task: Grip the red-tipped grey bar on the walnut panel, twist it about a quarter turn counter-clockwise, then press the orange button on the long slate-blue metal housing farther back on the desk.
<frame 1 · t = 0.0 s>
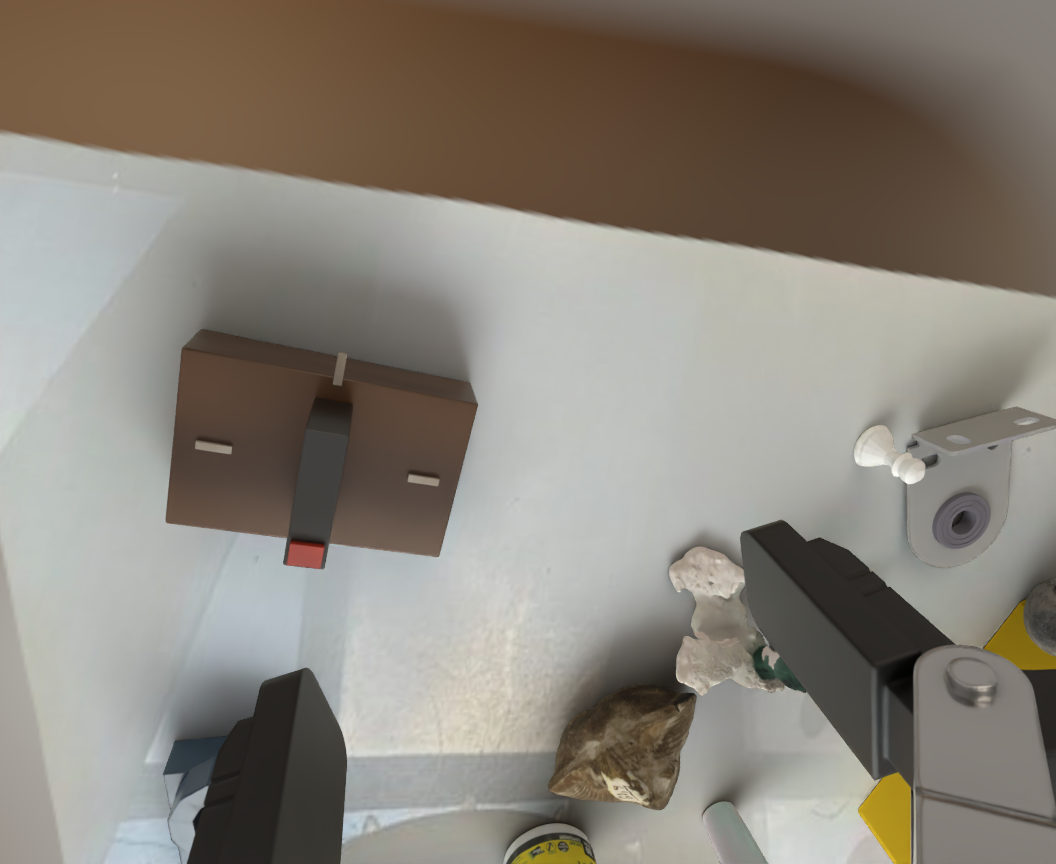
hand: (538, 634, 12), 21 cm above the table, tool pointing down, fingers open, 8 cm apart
red-tipped grey bar: (319, 483, 27), point 5 cm above the table, hinge at 0.0°
chess pawn: (867, 443, 38), on the table
bracket: (954, 477, 40), on the table
pill bottle: (545, 848, 47), on the table
panel: (328, 436, 32), on the table
button box: (256, 838, 41), on the table
alarm clock: (975, 721, 50), on the table, touching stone
rock: (758, 611, 42), on the table
fossilized seashell: (611, 716, 43), on the table
novelty light stick: (717, 810, 48), on the table
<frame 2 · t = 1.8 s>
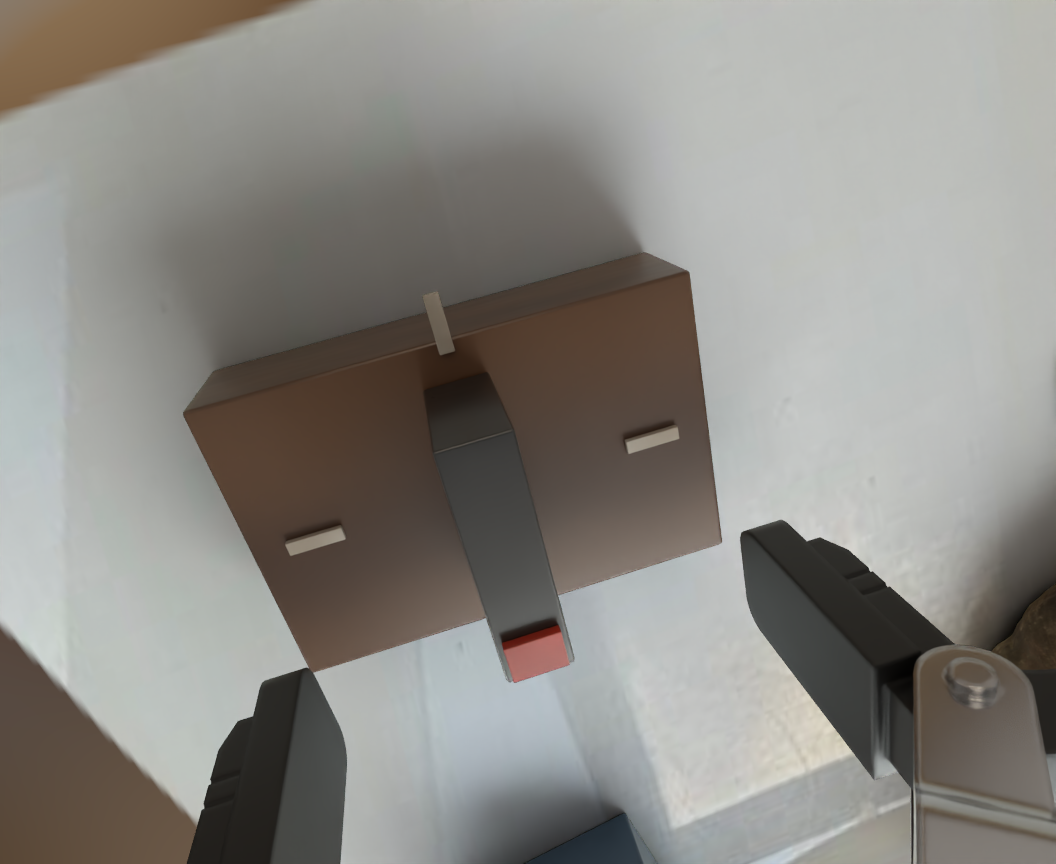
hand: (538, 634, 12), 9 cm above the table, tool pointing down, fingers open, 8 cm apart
red-tipped grey bar: (498, 526, 15), point 5 cm above the table, hinge at 0.0°
panel: (472, 439, 20), on the table
fossilized seashell: (1026, 633, 28), on the table
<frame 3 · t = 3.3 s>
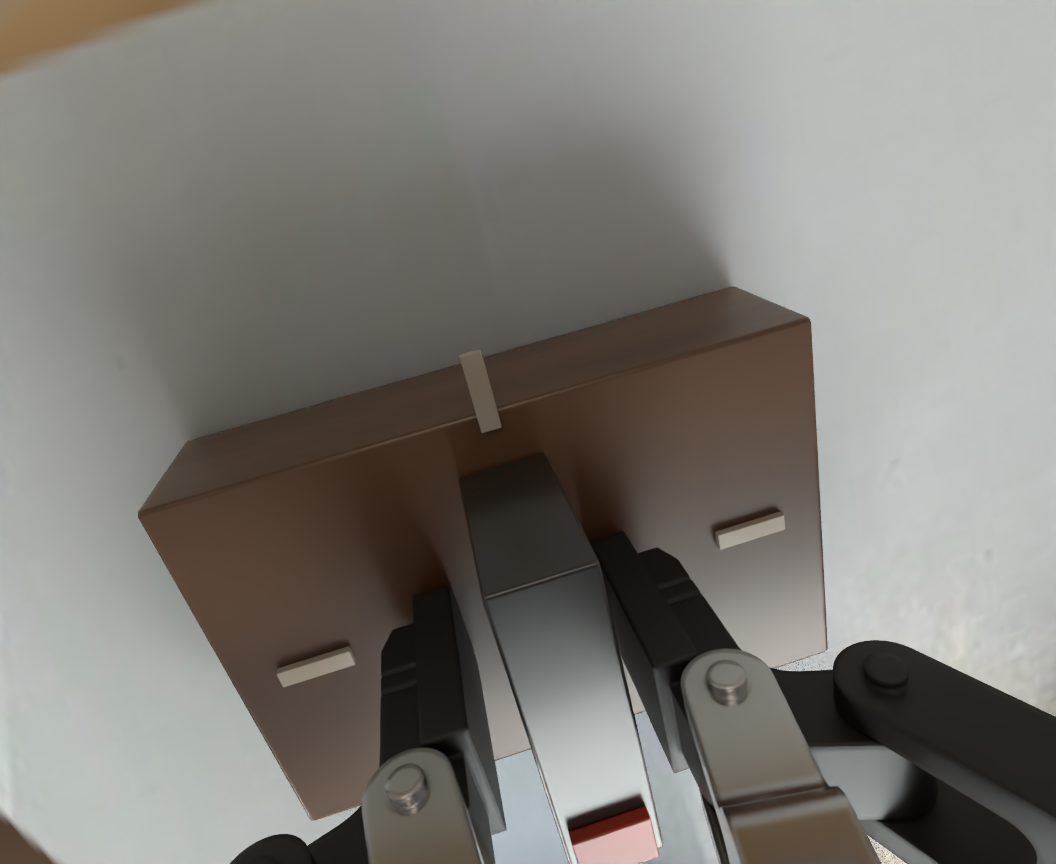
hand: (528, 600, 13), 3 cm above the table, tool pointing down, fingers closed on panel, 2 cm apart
red-tipped grey bar: (560, 663, 11), point 5 cm above the table, hinge at 0.0°
panel: (512, 517, 16), on the table
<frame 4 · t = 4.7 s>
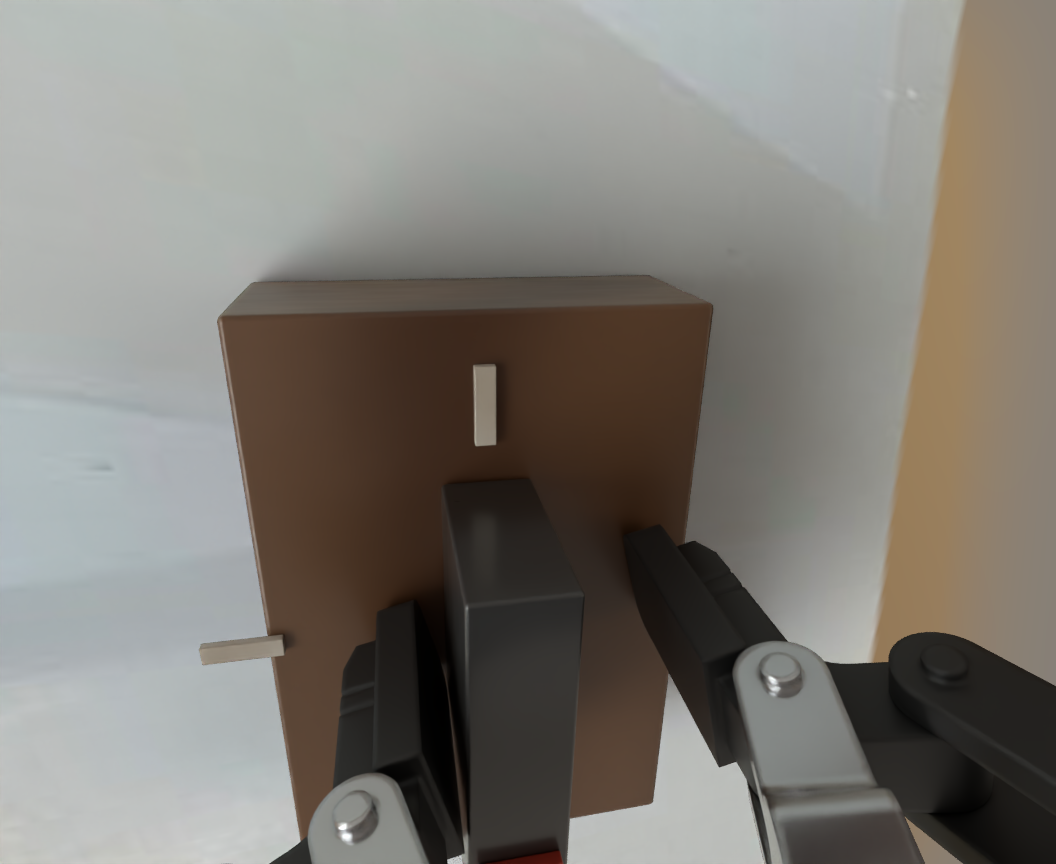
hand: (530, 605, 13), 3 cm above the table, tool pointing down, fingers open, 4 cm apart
red-tipped grey bar: (502, 690, 11), point 5 cm above the table, hinge at 89.6°
panel: (467, 537, 16), on the table
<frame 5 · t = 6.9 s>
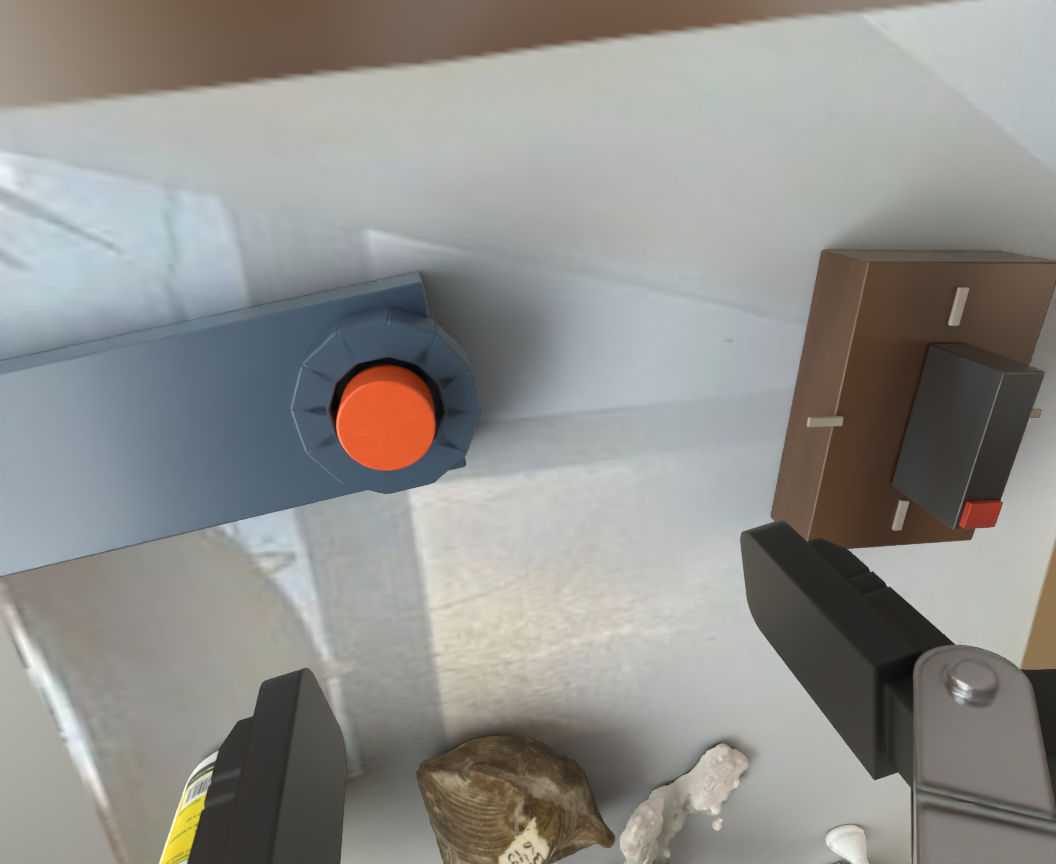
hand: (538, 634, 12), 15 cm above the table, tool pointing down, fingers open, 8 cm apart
red-tipped grey bar: (962, 435, 25), point 5 cm above the table, hinge at 89.6°
chess pawn: (841, 832, 42), on the table
pill bottle: (258, 780, 32), on the table
button: (387, 417, 21), point 4 cm above the table, slide at 0.1 cm
panel: (878, 391, 29), on the table
button box: (217, 412, 25), on the table
rock: (658, 835, 39), on the table
fossilized seashell: (505, 765, 35), on the table
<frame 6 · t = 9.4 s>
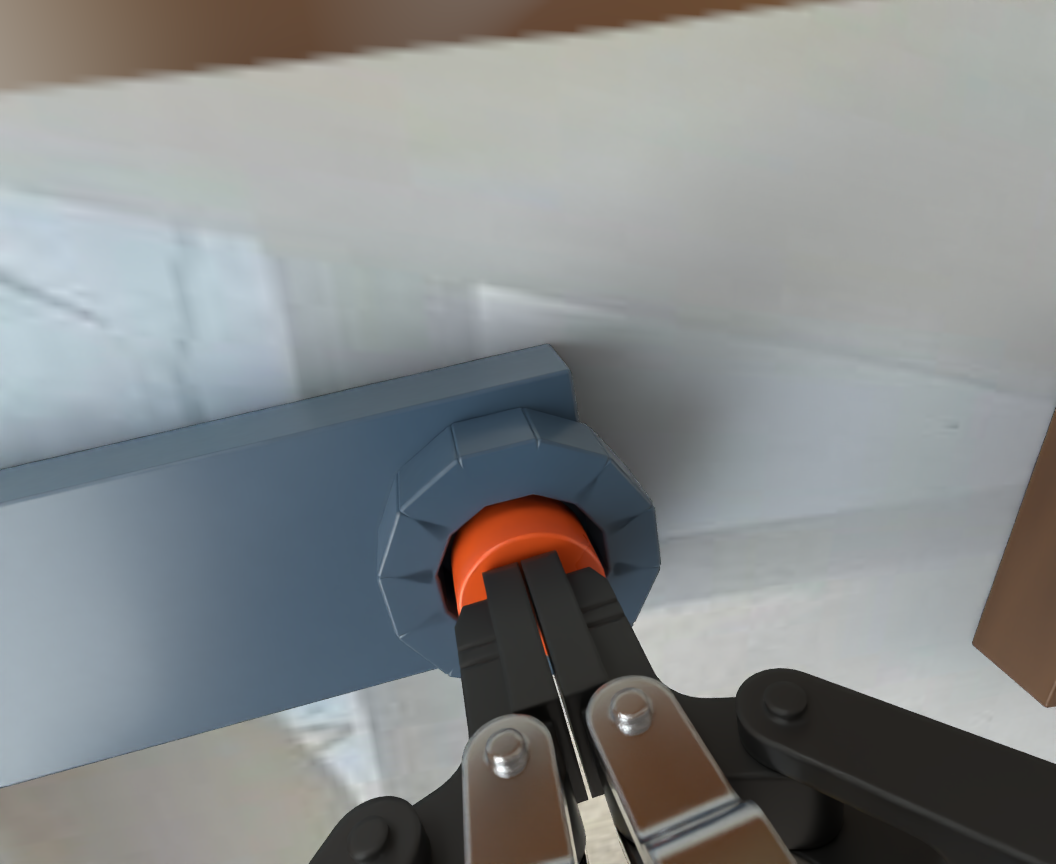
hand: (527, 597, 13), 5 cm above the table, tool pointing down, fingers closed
button: (526, 574, 14), point 4 cm above the table, slide at -0.3 cm, touching gripper
button box: (248, 547, 17), on the table
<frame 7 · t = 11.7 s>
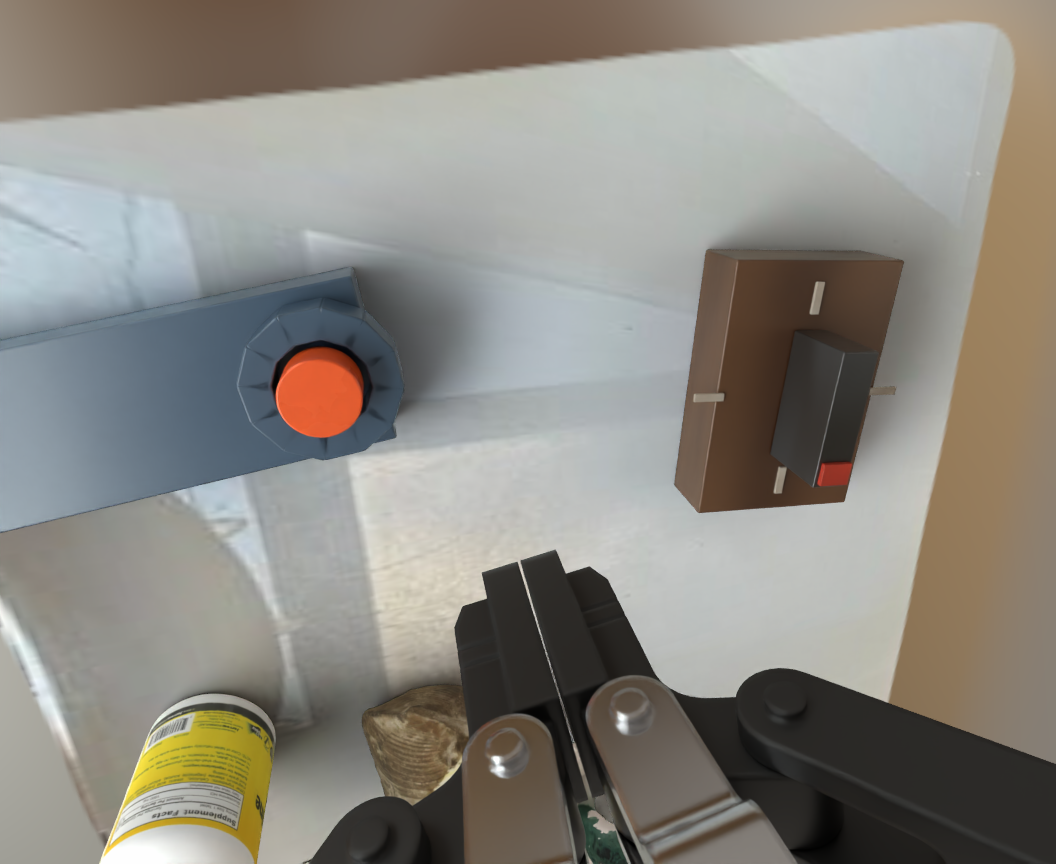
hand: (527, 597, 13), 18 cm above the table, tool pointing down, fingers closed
red-tipped grey bar: (821, 408, 29), point 5 cm above the table, hinge at 89.6°
pill bottle: (216, 731, 36), on the table
button: (321, 391, 25), point 4 cm above the table, slide at 0.1 cm
panel: (762, 373, 34), on the table
button box: (173, 391, 28), on the table
rock: (588, 780, 43), on the table
fossilized seashell: (445, 715, 38), on the table
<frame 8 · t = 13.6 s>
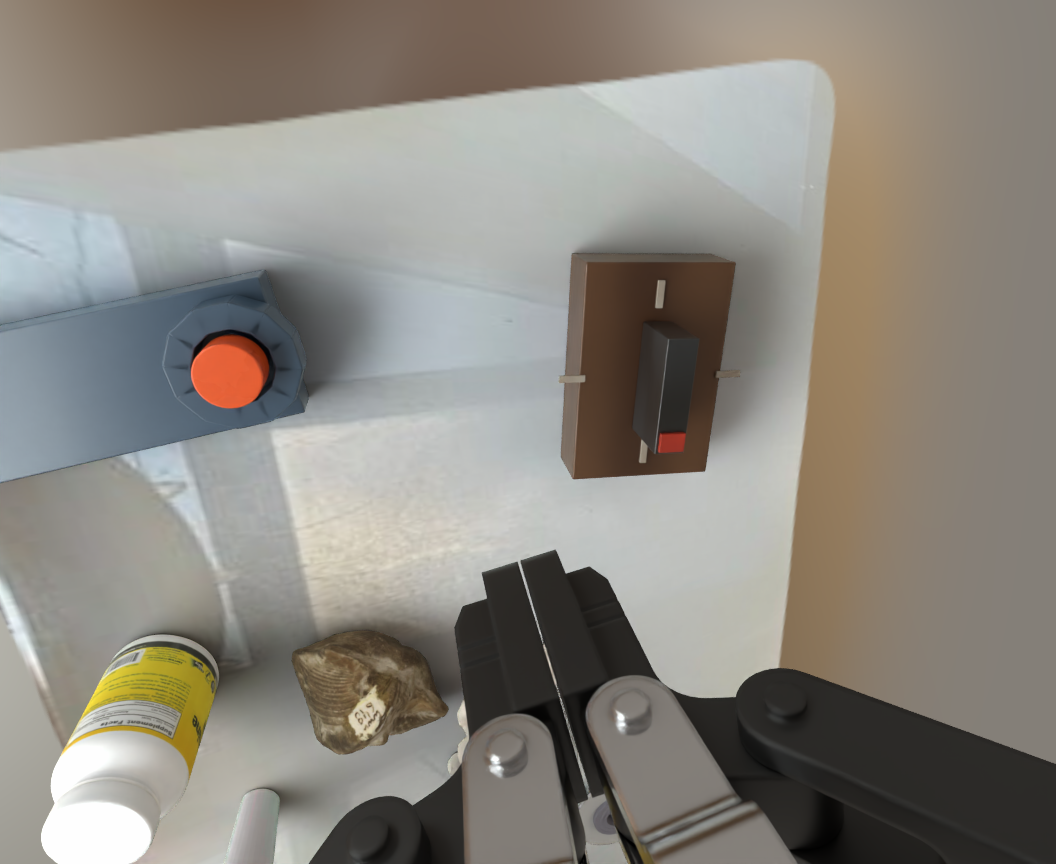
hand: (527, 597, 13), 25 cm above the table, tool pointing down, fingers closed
red-tipped grey bar: (664, 387, 34), point 5 cm above the table, hinge at 89.6°
bracket: (638, 791, 54), on the table
pill bottle: (168, 668, 41), on the table
button: (231, 371, 31), point 4 cm above the table, slide at 0.1 cm
panel: (632, 359, 39), on the table
button box: (119, 373, 34), on the table
rock: (504, 724, 48), on the table
fossilized seashell: (370, 660, 44), on the table
novelty light stick: (261, 798, 47), on the table
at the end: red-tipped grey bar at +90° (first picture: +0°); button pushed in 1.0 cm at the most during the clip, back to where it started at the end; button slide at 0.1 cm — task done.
